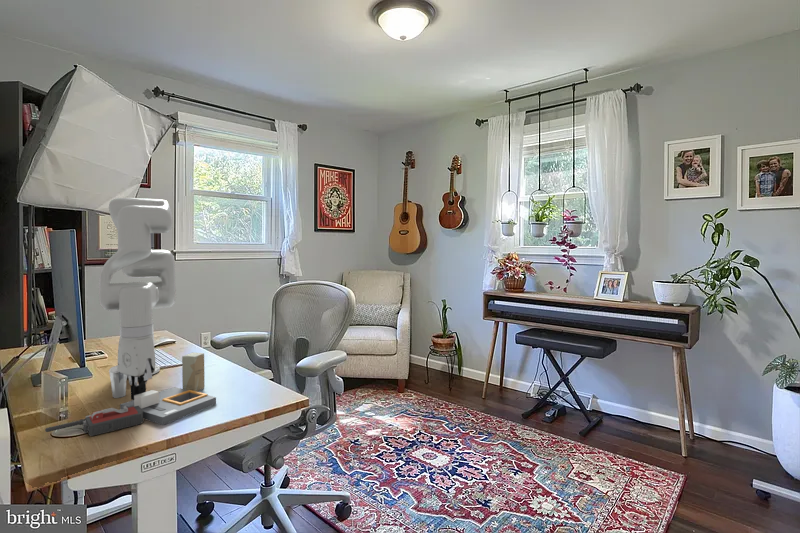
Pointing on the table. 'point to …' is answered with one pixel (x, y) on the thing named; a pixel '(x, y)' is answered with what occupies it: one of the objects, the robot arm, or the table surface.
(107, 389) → the table surface
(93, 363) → the table surface
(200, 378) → the box
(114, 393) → the milkshake
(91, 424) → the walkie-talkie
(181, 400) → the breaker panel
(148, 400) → the block
